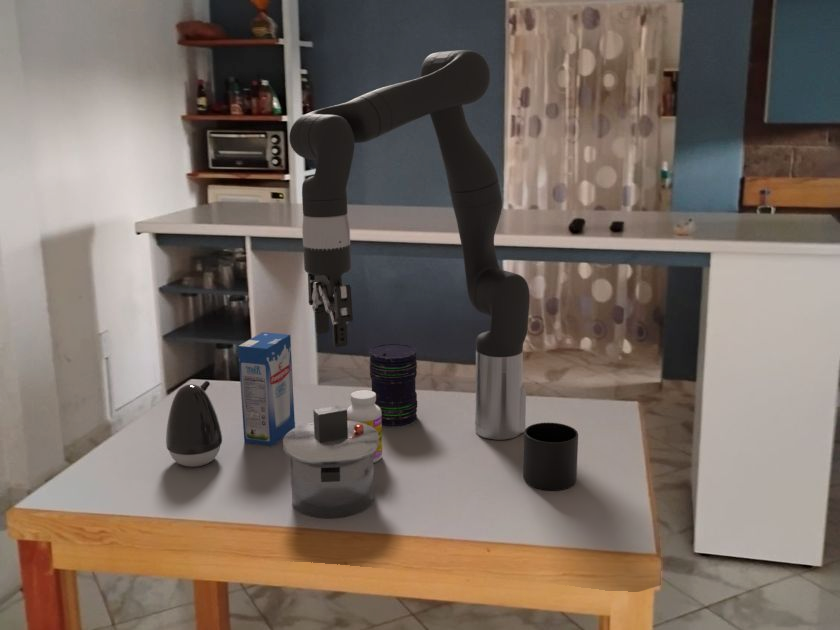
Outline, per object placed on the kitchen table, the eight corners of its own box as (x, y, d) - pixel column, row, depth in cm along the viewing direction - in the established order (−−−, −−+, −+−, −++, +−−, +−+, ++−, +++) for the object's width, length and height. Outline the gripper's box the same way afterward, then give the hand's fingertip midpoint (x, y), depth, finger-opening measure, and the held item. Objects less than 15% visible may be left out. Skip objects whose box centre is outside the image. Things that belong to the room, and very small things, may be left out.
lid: (358, 420, 159) (357, 387, 158) (394, 453, 145) (393, 417, 144) (271, 435, 153) (269, 402, 151) (300, 471, 139) (298, 435, 137)
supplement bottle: (377, 467, 164) (376, 401, 161) (343, 464, 165) (340, 399, 162) (386, 452, 170) (384, 389, 167) (352, 449, 172) (350, 387, 168)
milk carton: (272, 446, 173) (266, 348, 168) (244, 442, 175) (237, 345, 170) (295, 427, 183) (290, 334, 177) (268, 424, 185) (262, 331, 179)
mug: (576, 464, 164) (578, 418, 162) (576, 493, 153) (578, 444, 151) (525, 460, 166) (526, 415, 164) (521, 489, 155) (522, 441, 152)
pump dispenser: (235, 455, 170) (230, 379, 166) (200, 476, 161) (194, 397, 157) (192, 446, 174) (186, 372, 170) (156, 467, 165) (149, 390, 161)
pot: (295, 477, 160) (292, 425, 157) (373, 474, 161) (371, 422, 158) (288, 525, 143) (285, 468, 140) (375, 521, 144) (374, 464, 141)
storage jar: (390, 406, 194) (388, 341, 190) (426, 416, 188) (426, 348, 184) (361, 420, 186) (359, 352, 182) (398, 431, 180) (397, 361, 176)
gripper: (365, 247, 137) (368, 347, 141) (333, 233, 149) (337, 325, 154) (319, 252, 134) (324, 354, 138) (290, 237, 146) (295, 331, 151)
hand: (331, 339), depth 146 cm, fingers open, 8 cm apart
